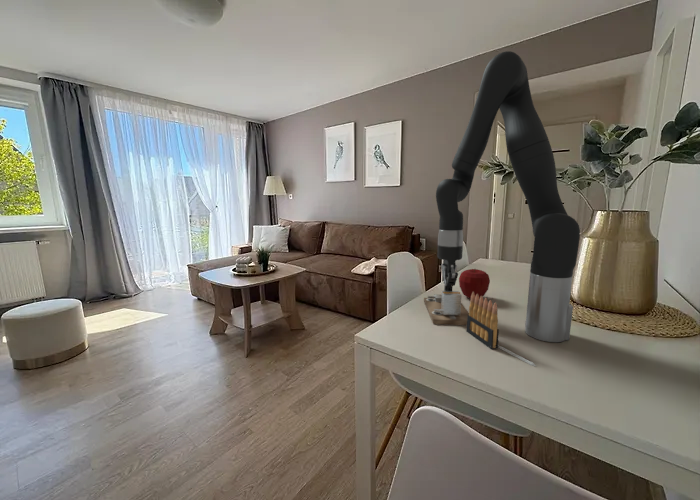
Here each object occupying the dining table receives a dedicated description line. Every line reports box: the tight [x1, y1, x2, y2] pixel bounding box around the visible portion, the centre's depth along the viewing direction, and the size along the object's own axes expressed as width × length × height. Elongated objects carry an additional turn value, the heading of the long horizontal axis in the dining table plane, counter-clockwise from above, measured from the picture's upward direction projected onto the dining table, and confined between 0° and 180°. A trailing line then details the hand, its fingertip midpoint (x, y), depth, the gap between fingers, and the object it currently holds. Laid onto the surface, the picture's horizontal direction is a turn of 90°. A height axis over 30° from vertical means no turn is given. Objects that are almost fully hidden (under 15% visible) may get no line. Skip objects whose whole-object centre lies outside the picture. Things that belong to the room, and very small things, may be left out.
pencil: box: [497, 344, 537, 367], centre depth 71 cm, size 1×1×15 cm
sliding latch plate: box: [423, 294, 469, 326], centre depth 96 cm, size 12×20×3 cm, turn 174°
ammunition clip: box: [465, 292, 500, 350], centre depth 77 cm, size 11×2×12 cm, turn 12°
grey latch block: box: [434, 290, 462, 315], centre depth 90 cm, size 8×4×7 cm, turn 84°
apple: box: [458, 268, 491, 300], centre depth 109 cm, size 11×11×12 cm
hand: (448, 296), depth 94 cm, fingers closed
